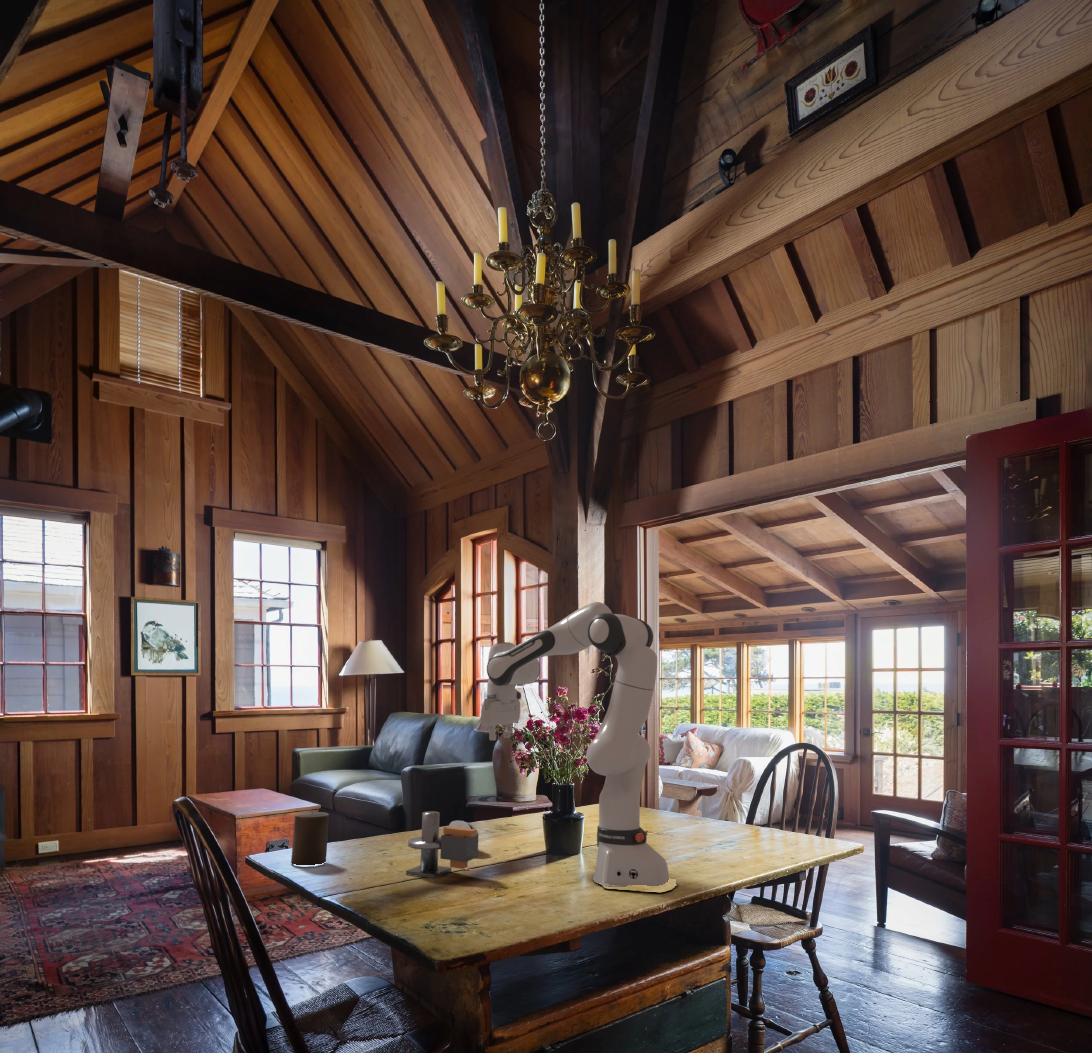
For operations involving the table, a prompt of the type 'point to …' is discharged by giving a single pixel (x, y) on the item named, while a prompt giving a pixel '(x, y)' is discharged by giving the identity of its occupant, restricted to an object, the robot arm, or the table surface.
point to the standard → (448, 844)
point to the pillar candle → (310, 838)
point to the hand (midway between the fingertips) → (499, 739)
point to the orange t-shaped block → (459, 833)
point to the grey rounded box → (462, 825)
